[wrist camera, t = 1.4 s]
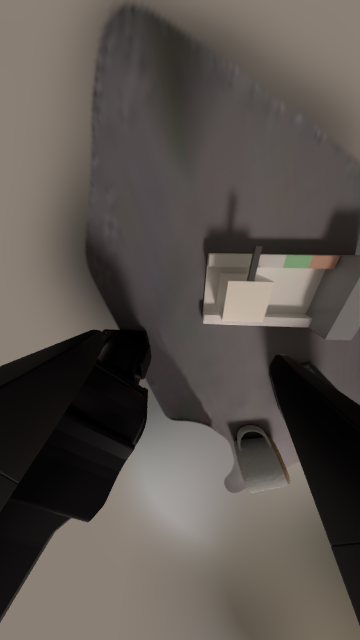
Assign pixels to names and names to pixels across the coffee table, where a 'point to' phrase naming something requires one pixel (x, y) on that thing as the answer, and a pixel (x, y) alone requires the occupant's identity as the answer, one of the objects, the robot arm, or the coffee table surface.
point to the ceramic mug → (260, 461)
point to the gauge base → (296, 291)
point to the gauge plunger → (244, 293)
